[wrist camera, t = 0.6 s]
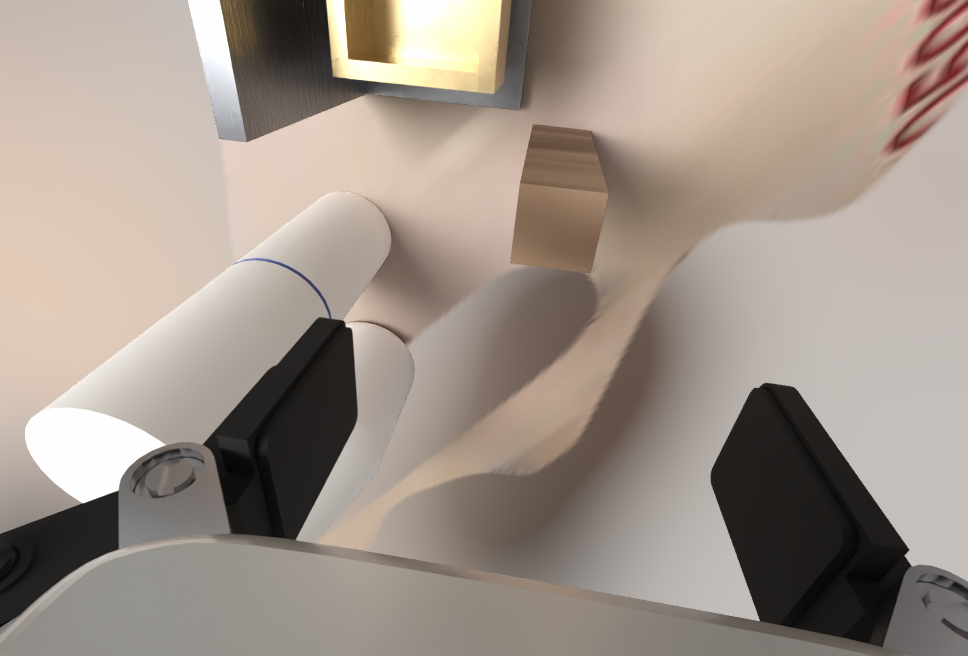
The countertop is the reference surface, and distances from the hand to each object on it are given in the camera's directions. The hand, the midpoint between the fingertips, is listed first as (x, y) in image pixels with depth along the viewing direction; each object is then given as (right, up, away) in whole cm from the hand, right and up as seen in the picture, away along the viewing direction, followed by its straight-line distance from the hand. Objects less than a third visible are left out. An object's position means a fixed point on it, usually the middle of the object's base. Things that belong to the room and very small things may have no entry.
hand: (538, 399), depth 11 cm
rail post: (+4, +14, +23) cm, 27 cm away
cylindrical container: (-13, +10, +28) cm, 32 cm away
